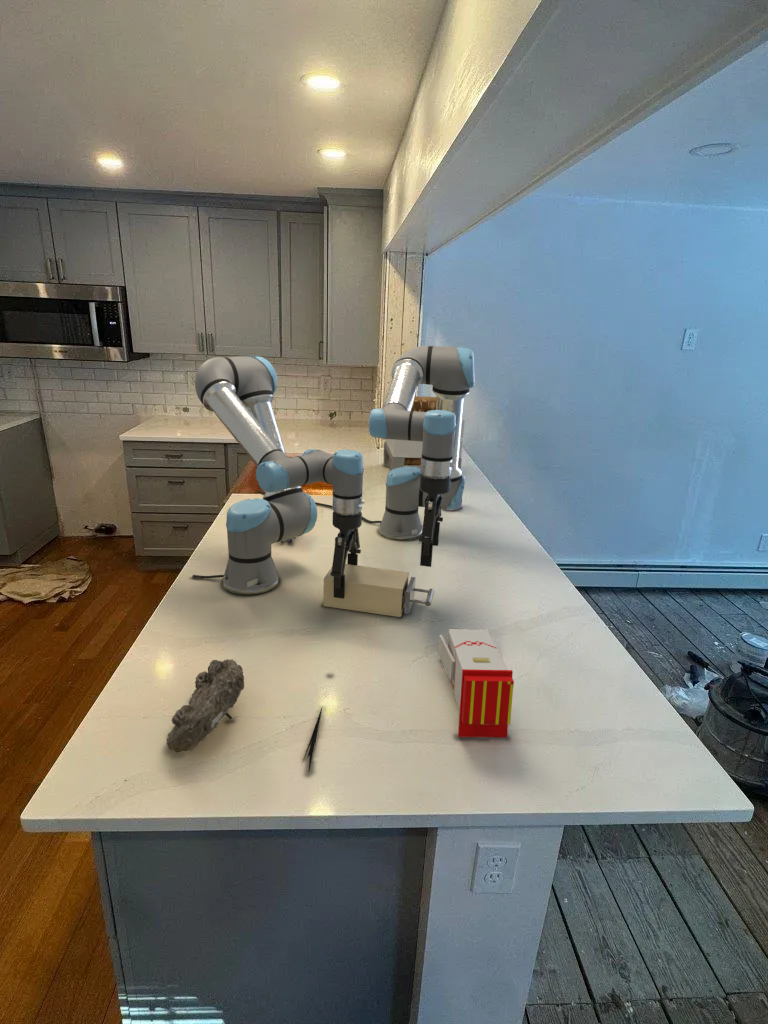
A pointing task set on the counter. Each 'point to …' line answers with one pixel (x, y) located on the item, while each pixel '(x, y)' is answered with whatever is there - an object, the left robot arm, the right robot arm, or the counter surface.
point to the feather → (313, 740)
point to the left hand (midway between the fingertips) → (345, 586)
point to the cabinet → (369, 590)
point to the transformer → (411, 451)
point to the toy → (478, 682)
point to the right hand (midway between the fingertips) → (429, 555)
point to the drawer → (410, 595)
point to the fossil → (206, 705)
